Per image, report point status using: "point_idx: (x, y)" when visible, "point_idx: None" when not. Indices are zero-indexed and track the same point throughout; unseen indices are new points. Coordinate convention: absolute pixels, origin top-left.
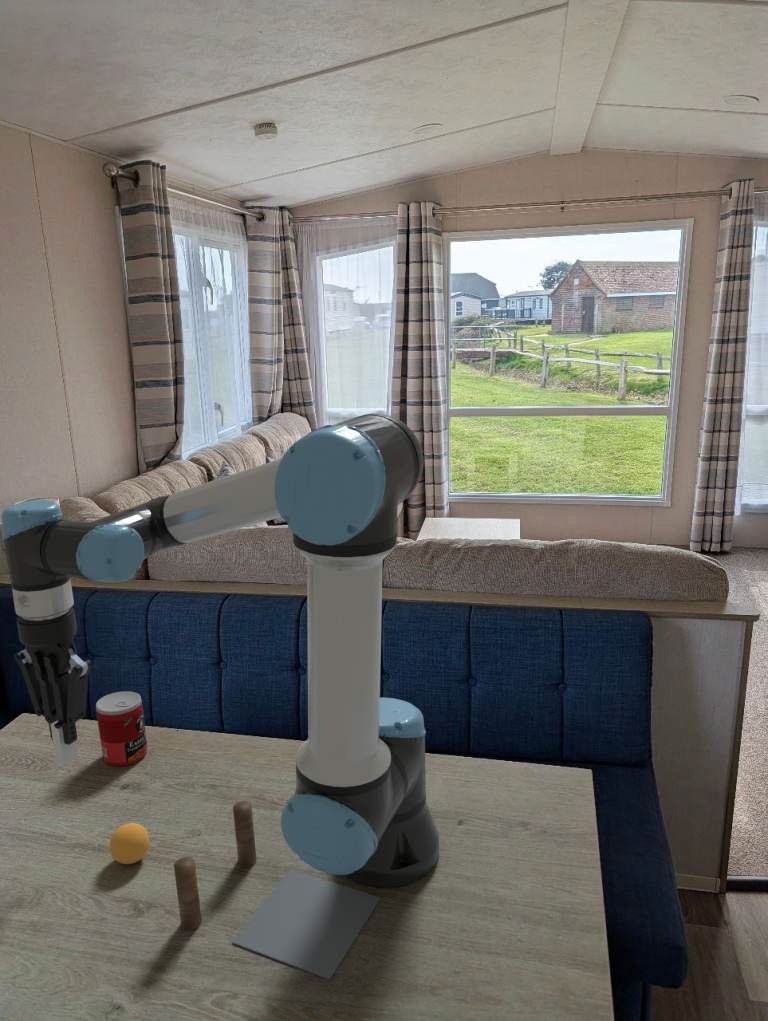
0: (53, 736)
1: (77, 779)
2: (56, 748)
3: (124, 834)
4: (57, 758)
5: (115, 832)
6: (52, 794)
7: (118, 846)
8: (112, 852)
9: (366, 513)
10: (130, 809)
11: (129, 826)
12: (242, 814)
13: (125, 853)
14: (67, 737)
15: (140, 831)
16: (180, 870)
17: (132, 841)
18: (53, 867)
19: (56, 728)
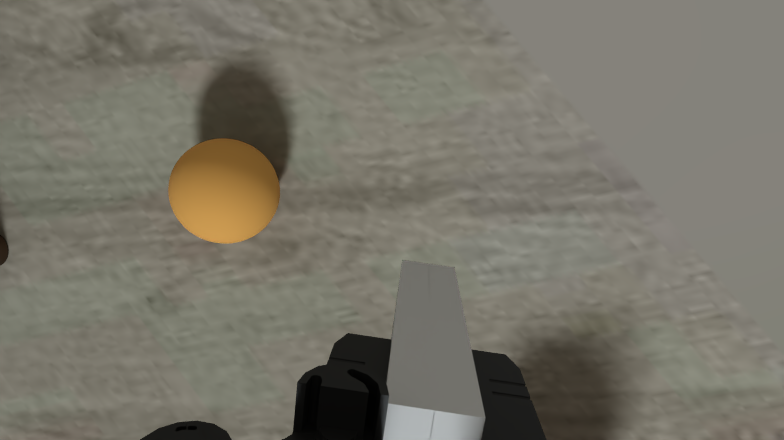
0: (458, 349)
1: (598, 416)
2: (441, 305)
3: (196, 175)
4: (441, 278)
5: (238, 182)
6: (626, 350)
7: (209, 146)
8: (240, 142)
9: None
10: None
11: (200, 206)
12: None
13: (197, 144)
14: (343, 362)
15: (175, 207)
16: None
17: (175, 169)
18: (421, 104)
19: (410, 391)
